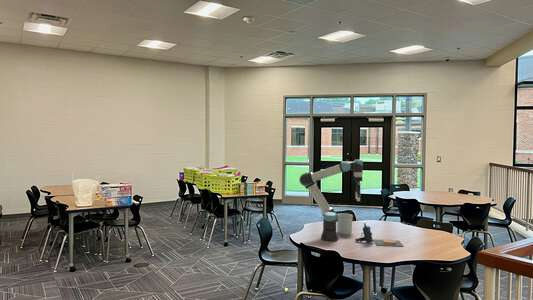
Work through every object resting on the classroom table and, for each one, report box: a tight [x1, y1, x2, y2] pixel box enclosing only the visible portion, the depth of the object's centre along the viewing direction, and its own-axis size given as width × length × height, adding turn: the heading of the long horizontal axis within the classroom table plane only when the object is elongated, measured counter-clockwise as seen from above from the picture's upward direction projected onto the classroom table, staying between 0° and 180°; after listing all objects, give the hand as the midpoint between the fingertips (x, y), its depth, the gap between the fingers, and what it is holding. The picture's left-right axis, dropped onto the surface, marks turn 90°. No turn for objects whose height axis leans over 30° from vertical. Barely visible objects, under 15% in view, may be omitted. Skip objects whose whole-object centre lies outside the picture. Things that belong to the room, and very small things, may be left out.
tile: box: [381, 238, 396, 244], centre depth 336 cm, size 2×10×10 cm
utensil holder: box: [336, 213, 354, 235], centre depth 374 cm, size 15×15×18 cm
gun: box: [354, 223, 375, 244], centre depth 339 cm, size 3×17×15 cm
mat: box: [373, 238, 404, 248], centre depth 336 cm, size 22×18×1 cm
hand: (357, 200), depth 354 cm, fingers open, 13 cm apart
